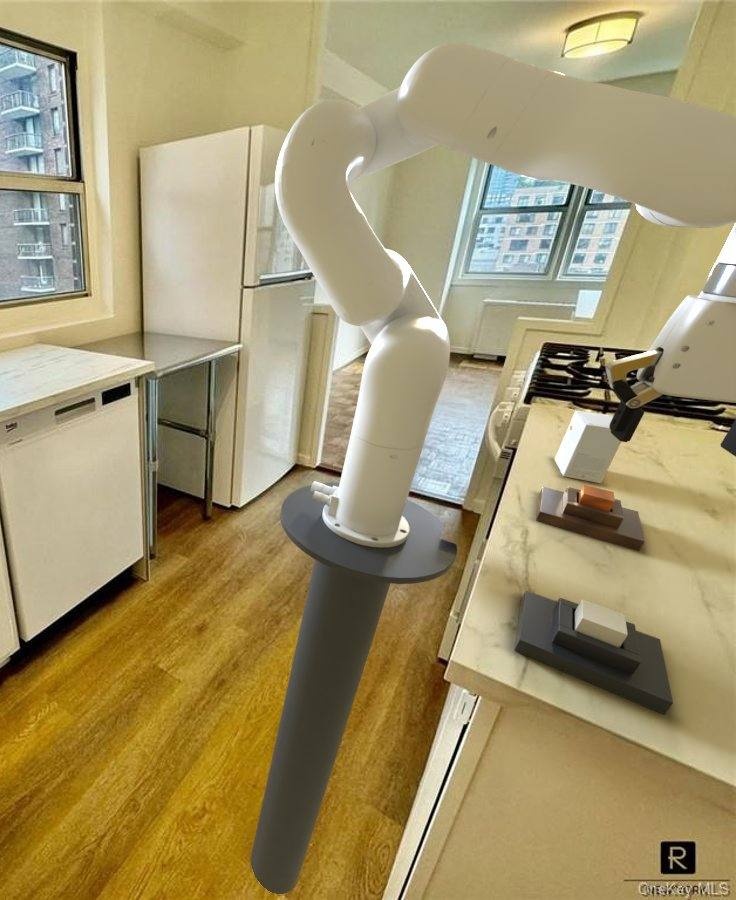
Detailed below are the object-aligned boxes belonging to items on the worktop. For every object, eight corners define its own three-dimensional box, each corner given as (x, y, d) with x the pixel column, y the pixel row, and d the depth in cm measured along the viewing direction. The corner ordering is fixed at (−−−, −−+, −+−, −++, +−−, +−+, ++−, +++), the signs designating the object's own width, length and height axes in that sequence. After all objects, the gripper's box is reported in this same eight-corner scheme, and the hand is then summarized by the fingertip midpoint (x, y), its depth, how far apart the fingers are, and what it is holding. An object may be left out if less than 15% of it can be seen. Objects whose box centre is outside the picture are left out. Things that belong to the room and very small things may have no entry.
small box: (600, 484, 86) (628, 431, 82) (561, 476, 89) (585, 424, 84) (589, 466, 93) (614, 415, 88) (553, 459, 95) (575, 409, 90)
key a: (574, 631, 52) (582, 617, 51) (574, 612, 54) (581, 599, 54) (618, 649, 50) (627, 634, 49) (616, 628, 52) (625, 614, 52)
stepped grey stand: (514, 650, 53) (525, 627, 52) (520, 600, 60) (531, 578, 59) (664, 715, 47) (683, 690, 45) (652, 650, 54) (668, 627, 52)
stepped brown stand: (535, 520, 76) (544, 501, 75) (539, 494, 83) (546, 477, 82) (639, 551, 69) (651, 531, 68) (633, 520, 76) (643, 501, 75)
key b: (578, 504, 75) (583, 493, 74) (578, 495, 77) (583, 484, 76) (608, 513, 73) (615, 501, 72) (607, 503, 75) (613, 491, 74)
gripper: (859, 286, 47) (757, 445, 54) (630, 276, 53) (567, 420, 60) (934, 297, 40) (806, 475, 48) (665, 285, 47) (589, 444, 54)
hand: (673, 444), depth 54 cm, fingers open, 9 cm apart
